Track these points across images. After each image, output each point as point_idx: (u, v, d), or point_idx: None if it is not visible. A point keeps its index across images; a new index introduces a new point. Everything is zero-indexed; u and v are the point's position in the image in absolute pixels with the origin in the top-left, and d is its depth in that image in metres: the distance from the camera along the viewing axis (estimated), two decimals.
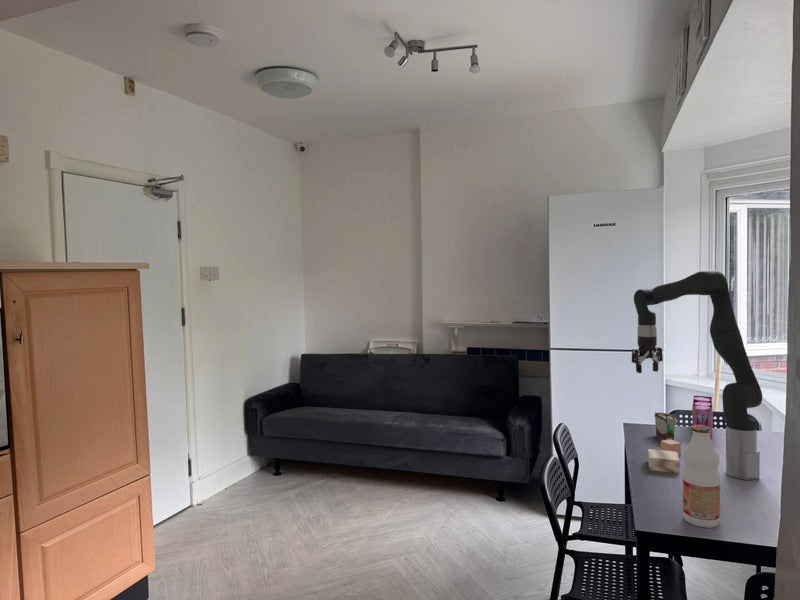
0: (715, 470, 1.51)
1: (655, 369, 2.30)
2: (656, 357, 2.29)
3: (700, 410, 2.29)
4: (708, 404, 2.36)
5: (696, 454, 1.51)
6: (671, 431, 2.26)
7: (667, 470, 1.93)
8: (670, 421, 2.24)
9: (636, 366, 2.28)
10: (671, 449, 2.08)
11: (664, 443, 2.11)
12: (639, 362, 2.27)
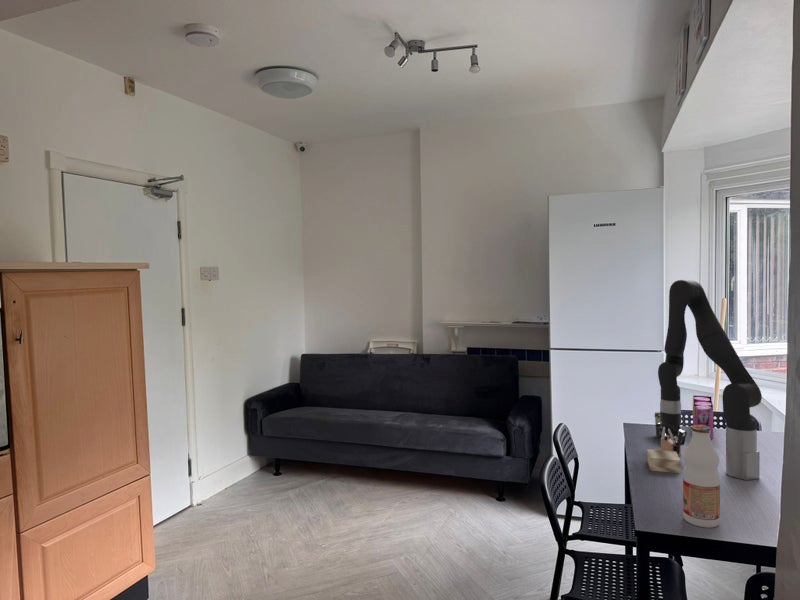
0: (715, 470, 1.51)
1: None
2: None
3: (701, 410, 2.29)
4: (708, 404, 2.36)
5: (696, 454, 1.51)
6: None
7: (668, 470, 1.93)
8: None
9: (677, 448, 2.07)
10: (671, 449, 2.08)
11: (664, 443, 2.11)
12: None
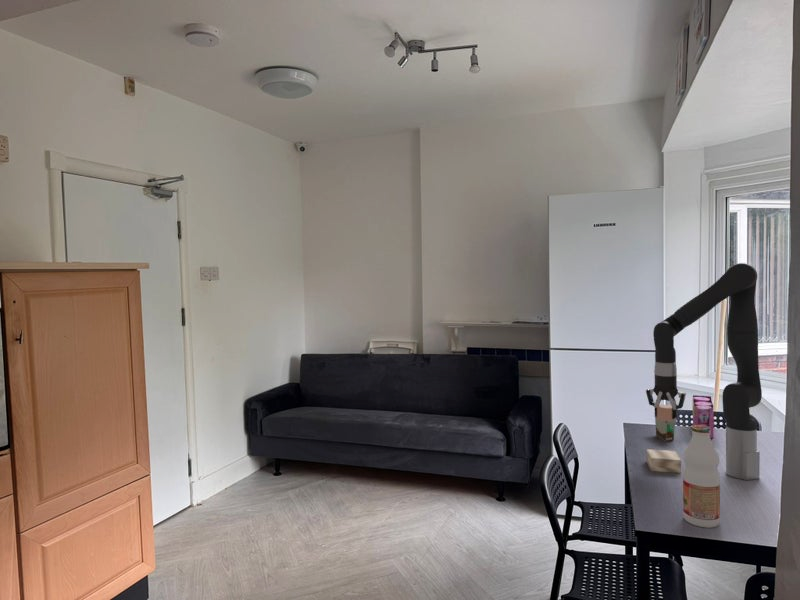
0: (715, 470, 1.51)
1: None
2: (659, 398, 2.04)
3: (702, 410, 2.29)
4: (708, 404, 2.37)
5: (696, 454, 1.51)
6: (671, 431, 2.26)
7: (669, 470, 1.93)
8: None
9: (676, 412, 1.99)
10: (671, 413, 1.98)
11: (662, 409, 2.00)
12: None
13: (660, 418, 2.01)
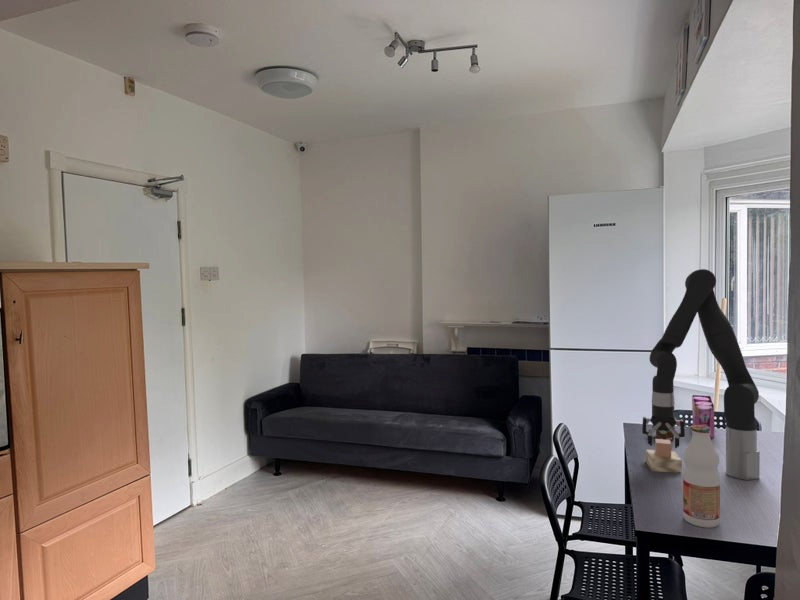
0: (715, 470, 1.51)
1: (651, 442, 1.99)
2: (653, 427, 2.00)
3: (702, 410, 2.29)
4: (709, 403, 2.37)
5: (696, 454, 1.51)
6: None
7: (669, 470, 1.93)
8: None
9: None
10: None
11: (662, 444, 1.95)
12: None
13: (659, 454, 1.96)
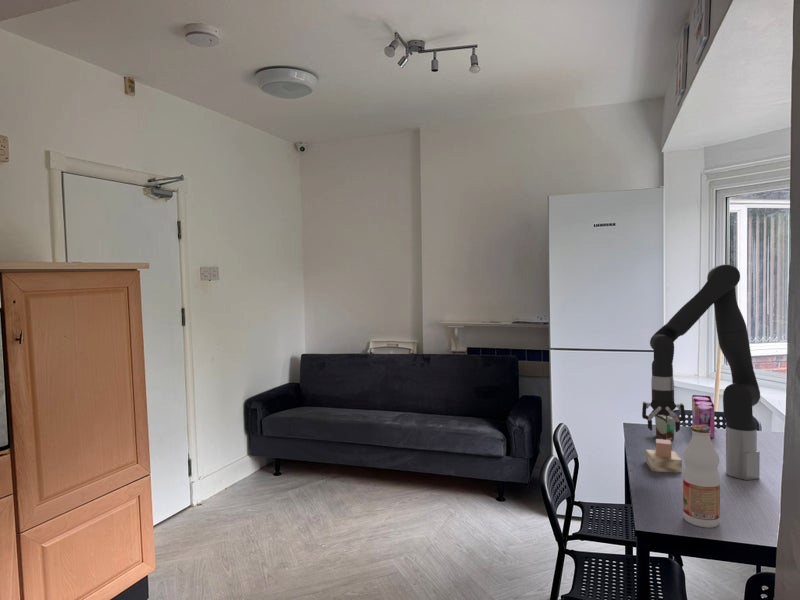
0: (715, 470, 1.51)
1: (651, 427, 1.99)
2: (652, 412, 1.99)
3: (703, 409, 2.30)
4: (709, 403, 2.37)
5: (696, 454, 1.51)
6: (671, 431, 2.26)
7: (669, 470, 1.93)
8: (670, 421, 2.24)
9: (679, 424, 1.94)
10: None
11: (662, 444, 1.95)
12: None
13: (659, 454, 1.96)
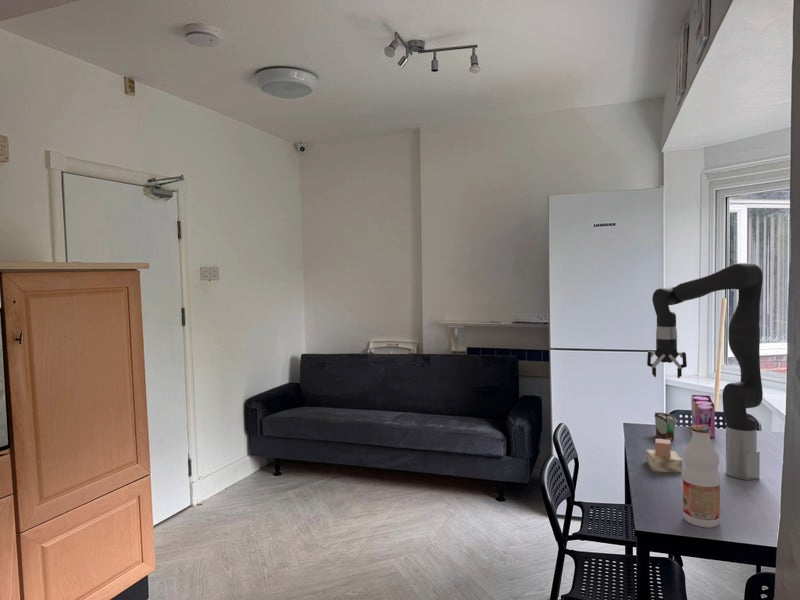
0: (715, 470, 1.51)
1: (655, 374, 2.16)
2: None
3: (703, 409, 2.30)
4: (709, 403, 2.37)
5: (696, 454, 1.51)
6: (671, 431, 2.26)
7: (670, 470, 1.93)
8: (670, 421, 2.24)
9: (681, 371, 2.11)
10: (670, 449, 1.95)
11: (661, 444, 1.96)
12: (680, 365, 2.13)
13: (658, 454, 1.96)
